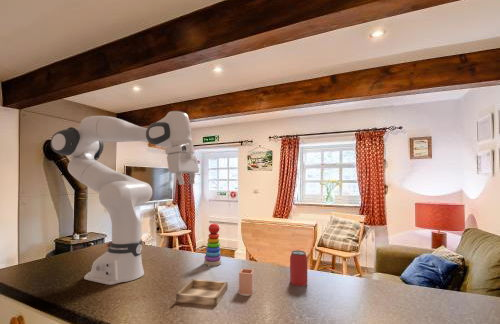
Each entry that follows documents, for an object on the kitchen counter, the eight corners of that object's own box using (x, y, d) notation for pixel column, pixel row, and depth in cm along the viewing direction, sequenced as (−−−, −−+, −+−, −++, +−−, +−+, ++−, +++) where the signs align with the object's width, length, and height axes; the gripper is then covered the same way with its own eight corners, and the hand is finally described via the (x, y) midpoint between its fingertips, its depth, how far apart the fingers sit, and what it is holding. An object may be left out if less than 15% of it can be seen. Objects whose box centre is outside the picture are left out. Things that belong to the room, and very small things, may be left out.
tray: (176, 303, 85) (176, 294, 85) (192, 287, 97) (192, 279, 97) (216, 308, 82) (216, 298, 82) (227, 290, 94) (227, 282, 95)
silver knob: (235, 296, 90) (236, 278, 91) (240, 288, 97) (240, 271, 97) (254, 298, 89) (254, 280, 89) (257, 290, 95) (257, 273, 96)
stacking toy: (218, 267, 119) (218, 225, 120) (201, 265, 120) (202, 224, 121) (223, 261, 127) (223, 222, 127) (207, 260, 128) (208, 221, 129)
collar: (239, 293, 91) (239, 273, 91) (241, 288, 96) (242, 268, 96) (252, 294, 90) (252, 274, 90) (254, 289, 95) (254, 269, 95)
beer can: (286, 283, 101) (286, 252, 102) (296, 279, 106) (296, 248, 106) (301, 289, 96) (301, 255, 97) (310, 283, 101) (310, 252, 102)
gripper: (186, 153, 116) (190, 184, 115) (162, 149, 96) (167, 186, 95) (199, 151, 115) (204, 182, 114) (178, 146, 95) (183, 183, 94)
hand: (187, 184), depth 104 cm, fingers open, 8 cm apart
